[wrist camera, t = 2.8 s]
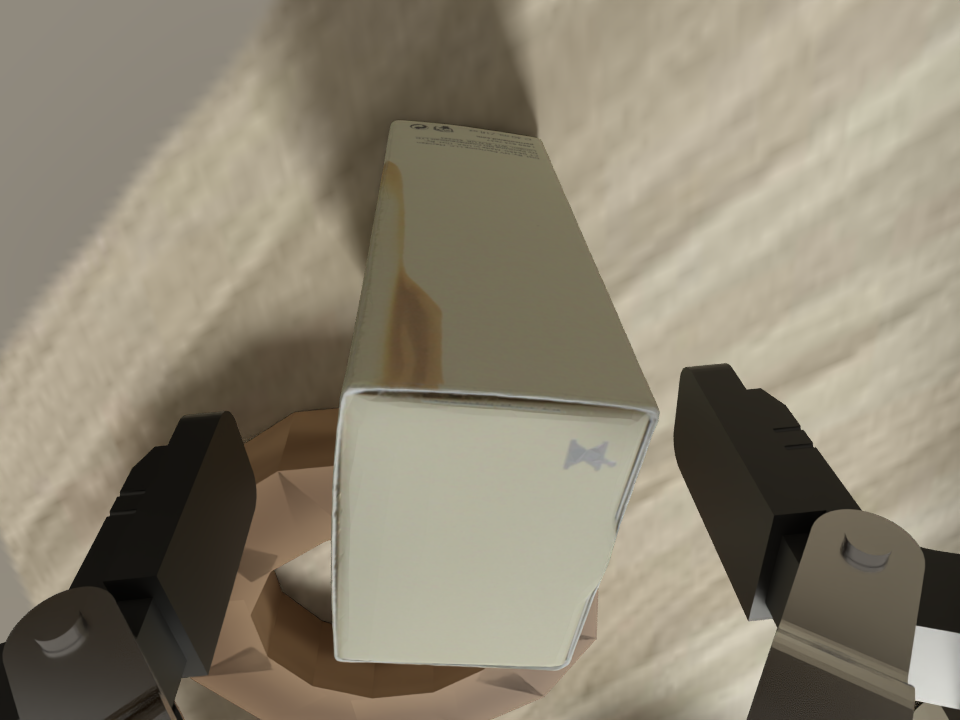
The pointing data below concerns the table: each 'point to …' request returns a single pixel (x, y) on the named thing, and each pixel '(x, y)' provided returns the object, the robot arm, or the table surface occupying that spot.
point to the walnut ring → (309, 641)
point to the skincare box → (479, 414)
